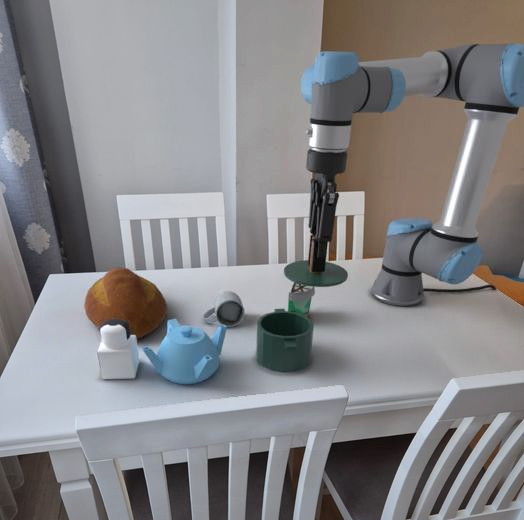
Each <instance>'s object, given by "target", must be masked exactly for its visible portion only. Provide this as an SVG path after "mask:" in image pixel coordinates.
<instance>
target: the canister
mask: <svg viewBox="0 0 524 520" xmlns="http://www.w3.org/2000/svg"><path fill="white" fill-rule="evenodd" d="M314 327H315V325H314V323H313V321H312V319H311V318H309V316H308V317H306V316H304V315H302V314H299V313H295V312H289V311H288V310H286V309H285V308H274V311H272V312H268V313H265V314H263V315H262V316H260V317H259V319H258V320H257V322H256V347H255V348H256V349H255V350H256V351H255V353H256V354H255V357H256V362H257V364H258V365H259V366H261V367H263V368H265V369H267V370H269V371H273V372H278V373H295V372H299V371H302V370H303V369H305V368H306V367H307V366H309V365H310V362H311V360H312V350H313V349H312V348H313V339H314V338H313V337H314Z"/></svg>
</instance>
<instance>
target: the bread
mask: <svg viewBox="0 0 524 520" xmlns="http://www.w3.org/2000/svg"><path fill="white" fill-rule="evenodd" d="M83 307H84V311H85V315H86V317H87V318H88V320H89V321H90V322H91V323H92V324H93V325H94V326H96V327H97V328H99V329H100V325H101V324H102V323H103V322H105V321H107V320H110V319H123V320H125V321H127V322H128V323H129V327H130V335H136V339H137V340H138V339H140V338H143V337H145V336H146V335H148V334H151V333H152V332H153V331H154V330H156V329H157V328H158V327H159V326H160V325H161V324H162V323H163V320H164V319H165V318H166V315H167V310H168V306H167V303H166V299H165V297H164V295H163V294H162V292H161V291H160V289H159V288H158V287H157V285H156V284H155V283H153V282H152V281H150V280H148V279H146V278H144V277H142V276H140V275H139V274H137V273H135V272H134V271H132V270H131V269H129V268H126V267H120V266H118V267H114V268H113V267H112V268H111V269H110V270H108V271H107V272H106V273H105V274H104V276H103V277H101V278H99V279H98V280H96V282H94V283H93V284H92V285H91V287H90V288H89V289H87V293H86V295H85V298H84V304H83Z"/></svg>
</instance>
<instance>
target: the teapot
mask: <svg viewBox="0 0 524 520" xmlns="http://www.w3.org/2000/svg"><path fill="white" fill-rule="evenodd" d="M166 325H167V328H166V335H165V337H164V338H163V339H162V341H161V343H160V345H159V347H158V349H157V353H156V352H154V351H153V349H152V348H151V346H150V345H146V346H143V347H141V349H142V351H143V353H144V354H145V356H146V357H147V358H148V360H149V361H150V363H151V364H152V366H153V367H154V368H155V370H156V371H157V373H158V374H160V375H161V376H162V377H164V378H165V379H167V380H168V381H169V382H172V383H174V384H178V385H194V384H197V383H202V382H204V381H205V380H207V379H209V378H210V377H212V375H213V374H214V373H215V372H216V371H217V370H218V368H219V366H220V356H221V354H222V350H223V346H224V341H225V338H226V333H227V329H228V327H227V326H225V325H221V324H220V325H217V326H218V327H217V329H216V330H215V332H214V334H213V335H212V337H210V336H209V335H208V334H207V333H206V332H205V331H204V329H202V328H200V327H198V326H191V325H182V326H181V324H180V323H179V321H178V320H177V318H172V319H168V320H167V324H166Z"/></svg>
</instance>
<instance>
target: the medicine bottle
mask: <svg viewBox="0 0 524 520" xmlns="http://www.w3.org/2000/svg"><path fill="white" fill-rule="evenodd" d="M99 332H100V339H101V342H100V344H99V347H98V348H97V349H98V350H97V353H96V354H97V358H98V363H99V364H98V365H99V369H100V370H99V371H100V376H101V379H102V380H122V379H123V380H124V379H125V380H126V379H136V377H137V372H138V368H139V364H140V356H139V347H138V342H137V341H138V338H137V339H136V335H130V327H129V323H128V322H127V321H125V320H123V319H110V320H107V321H105V322H103V323H102V324H101V325H100V328H99Z"/></svg>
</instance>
